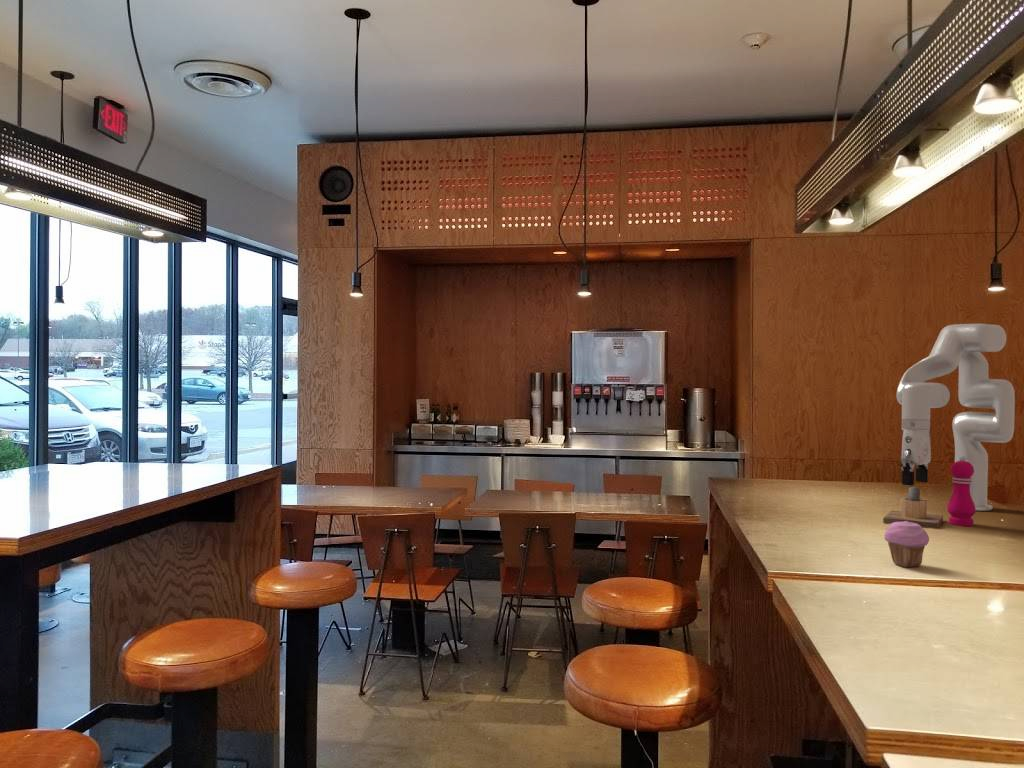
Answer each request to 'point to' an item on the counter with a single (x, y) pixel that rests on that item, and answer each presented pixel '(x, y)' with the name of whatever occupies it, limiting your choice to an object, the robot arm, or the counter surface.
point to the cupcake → (906, 543)
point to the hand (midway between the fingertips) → (914, 483)
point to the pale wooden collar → (913, 508)
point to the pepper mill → (961, 494)
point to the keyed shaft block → (928, 522)
